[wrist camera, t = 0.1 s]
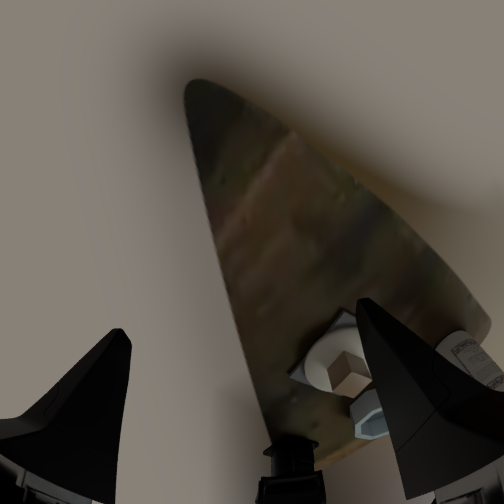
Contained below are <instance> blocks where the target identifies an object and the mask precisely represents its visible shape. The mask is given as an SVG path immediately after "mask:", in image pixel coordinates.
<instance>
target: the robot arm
mask: <svg viewBox="0 0 504 504" xmlns="http://www.w3.org/2000/svg"><path fill="white" fill-rule="evenodd" d="M355 318H356V324H357V327H358V332H359V336H360V340H361V344H362V348H363V353H364V357H365V360H366V363H367V366H368V369H369V371H370V374H371V377H372V380H373V383H374V386H375V389H376V392H377V395H378V398H379V401H380V404H381V407H382V411H383V414H384V417H385V420H386V424H387V427H388V430H389V434H390V437H391V441H392V444H393V448H394V451H395V453H396V454H395V455H396V459H397V463H398V467H399V471H400V475H401V479H402V483H403V488H404V492H405V497H406V500H409V499H412V498H415V497H418V496H421V495H424V494H426V493H429V492H431V491H434V493H435V499H434V500H433V502H432V503H431V504H504V392H503V391H496V390H493V389H491V388H488V387H487V386H485V385H484V384H482V383H481V382H479V381H478V380H476V379H475V378H473V377H471V376H470V375H468V374H467V373H465V372H464V371H462V370H461V369H460V368H458V367H457V366H455V365H454V364H452V363H451V362H450V361H448V360H447V359H446V358H445V357H443V356H442V355H441V354H440V353H438V352H437V351H436V350H434V349H433V348H432V347H431V346H430V345H428V344H427V343H426V342H425V341H424V340H422V339H421V338H420V337H419V336H417V335H416V334H415V333H414V332H412V331H411V330H410V329H408V328H407V327H406V326H405V325H403V324H402V323H401V322H400V321H398V320H397V319H396V318H395V317H393V316H392V315H391V314H389V313H388V312H387V311H386V310H384V309H383V308H382V307H380V306H379V305H378V304H376V303H375V302H374V301H373V300H371V299H370V298H362V299H358V300H357V305H356V315H355ZM131 350H132V344H131V341H130V339H129V338H128V336H127V335H126V334H125V332H124V330H123V329H121V328H118V329H117V328H115V329H112V330H111V331H110V332H109V333H108V334H107V335H106V336H104V337H103V338H102V339H101V340H100V341H99V342H98V343H97V344H96V345H95V346H94V347H93V348H92V349H91V350H90V351H89V352H88V353H87V354H86V355H85V356H84V357H83V358H81V359H80V360H79V362H77V363H76V364H75V365H74V366H73V367H72V368H71V369H70V370H69V371H68V372H67V373H66V374H65V375H64V376H63V377H62V378H61V379H60V380H59V382H57V383H56V384H55V385H54V386H53V387H52V388H51V389H50V390H49V391H48V392H47V393H46V394H45V395H44V396H43V397H42V398H40V399H39V400H38V401H37V402H36V403H35V404H34V405H33V406H31V407H30V408H29V409H28V410H27V411H26V412H25V413H23V414H22V415H21V416H18V417H16V418H10V419H0V504H91V503H92V500H94V501H97V502H100V503H103V504H115V494H116V493H115V492H116V475H117V461H118V451H119V442H120V433H121V425H122V418H123V411H124V405H125V399H126V393H127V387H128V381H129V372H130V360H131ZM318 446H319V443H317V442H313V441H308V440H304V439H300V438H296V437H292V436H288V435H285V436H283V437H282V438H280V439H279V440H278V441H277V442H275V443H274V444H273V445H271V446H270V447H269V448H267V449H266V450H265V451H263V455H266V456H270V457H271V463H272V464H271V468H272V469H271V474H272V476H271V477H261V481H259V486H258V487H259V488H258V493H257V497H256V501H255V503H256V504H326V493H325V487H324V480H323V475H322V470H318V471H314V463H315V461H314V453H313V450H314V449H315V448H317V447H318Z"/></svg>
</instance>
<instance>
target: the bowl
mask: <svg viewBox="0 0 504 504" xmlns="http://www.w3.org/2000/svg"><path fill="white" fill-rule="evenodd" d="M350 420H351V423H352V427H353V430H354V434H355V437H358V438H363V439H369V440H371V439H375V438H378V437H380V436H383V435H386V434H389V430H388V427H387V424H386V420H385V417H384V414H383V411H382V407H381V404H380V401H379V398H378V395H377V392H376V389H372V390H369V391H366V392H364V393H363V394H362V395H361V396H360V397H359V398H358V399H357V400H356V401H355V402H354V403H353V404H352V405H350Z"/></svg>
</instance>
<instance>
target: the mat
mask: <svg viewBox="0 0 504 504" xmlns="http://www.w3.org/2000/svg"><path fill="white" fill-rule="evenodd" d="M345 327H357V324H356V318H355V315H353V314H351V313H349V312H347V311H345V310H343V311H342V312H341V313H340V315H339V316H338V317H337V318H336V320H335V321H334V322H333V324H332V325H331V326H330V327H329V329H328V330H327V331H326V332H325V334H324V335H326V334H328V333H330V332H332V331H334V330H337V329H341V328H345ZM324 335H323V336H324ZM323 336H322V337H323ZM305 357H306V356H305ZM305 357H304V358H303V360H302V361H301V362H300V363H299V364H298V365H297V366H296V368H295V369H294V370H293V371H292V372H291V373H290V374H289V378H292V379H294V380H297V381H300V382H302V383H305V384H308V385H310V386H313V385H311V384H310V382H309V381H308V380H307V378H306V375H305V369H304V361H305ZM313 387H314V386H313ZM327 392H328V391H327ZM330 393H333V394H336V395H339V396H342V394H339V393H336V392H330Z"/></svg>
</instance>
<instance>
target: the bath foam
mask: <svg viewBox="0 0 504 504" xmlns="http://www.w3.org/2000/svg"><path fill="white" fill-rule="evenodd" d="M435 350H436V351H437V352H438V353H440V354H441V355H442V356H443V357H445V358H446V359H447V360H448V361H450V362H451V363H452V364H454V365H455V366H457V367H458V368H460V369H461V370H462V371H464V372H465V373H467V374H468V375H470V376H471V377H473V378H475V379H476V380H478V381H479V382H481V383H482V384H484V385H485V386H487V387H488V388H491V389H493V390H496V391H503V392H504V372H503V371H502V370H501V369H500V367H499V366H498V365H497V364H496V363H495V362H494V361H493V360H492V358H491V357H490V356H489V355H488V354H487V353H486V352H485V351H484V350H483V349H482V347H481V346H480V345H479V344H478V343H477V342H476V341H475V340H474V339H473V338H472V337H471V336H470V335H469V334H468V333H467V332H465V331H456V332H453V333H451V334H450V335H448V336H447V337H446V338H444V339H443V340H442V341H441V342H440V344H439V345H438V346H437V348H436V349H435Z"/></svg>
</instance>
